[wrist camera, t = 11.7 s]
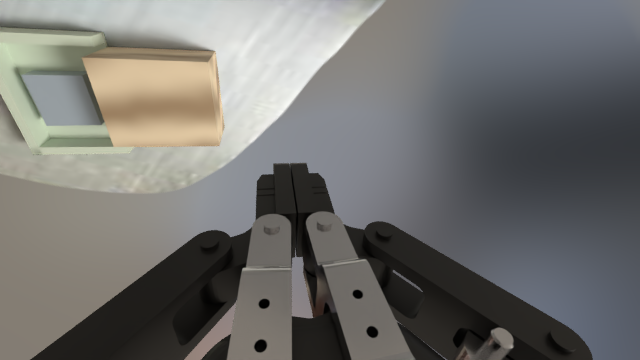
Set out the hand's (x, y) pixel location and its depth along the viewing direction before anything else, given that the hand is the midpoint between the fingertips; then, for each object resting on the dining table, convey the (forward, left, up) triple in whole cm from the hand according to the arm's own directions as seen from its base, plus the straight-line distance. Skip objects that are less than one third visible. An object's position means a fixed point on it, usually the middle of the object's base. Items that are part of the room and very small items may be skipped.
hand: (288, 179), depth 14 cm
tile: (+6, -24, -26) cm, 36 cm away
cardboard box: (+5, -13, -29) cm, 32 cm away
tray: (+5, -24, -29) cm, 38 cm away
